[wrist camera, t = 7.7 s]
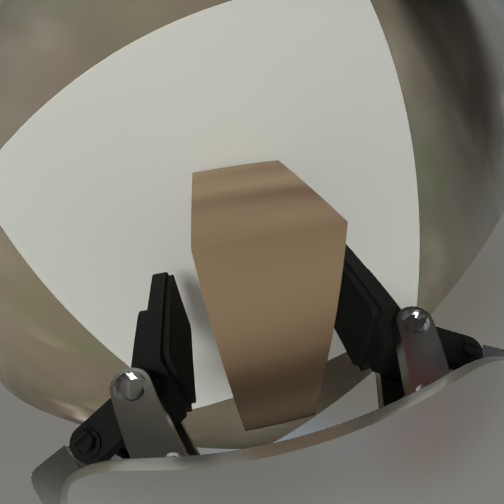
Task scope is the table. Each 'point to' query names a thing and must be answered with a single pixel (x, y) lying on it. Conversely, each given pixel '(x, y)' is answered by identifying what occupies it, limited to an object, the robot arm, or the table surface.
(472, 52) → the table surface
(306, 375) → the brown wooden block
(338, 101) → the white flat sheet
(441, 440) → the robot arm
